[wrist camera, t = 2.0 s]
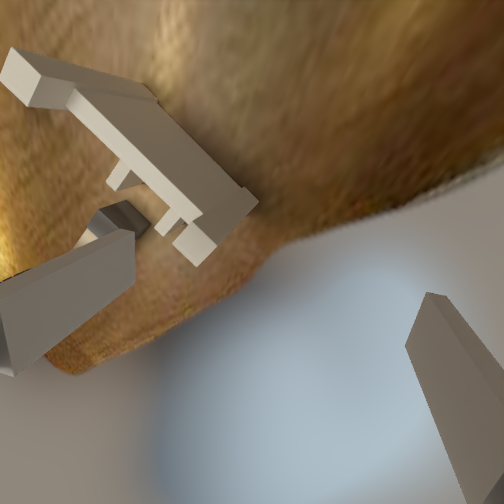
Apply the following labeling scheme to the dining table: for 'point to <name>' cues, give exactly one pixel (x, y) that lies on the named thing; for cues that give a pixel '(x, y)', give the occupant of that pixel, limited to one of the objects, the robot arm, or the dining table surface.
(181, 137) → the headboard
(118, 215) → the beige wooden block
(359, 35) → the dining table surface
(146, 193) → the dining table surface
